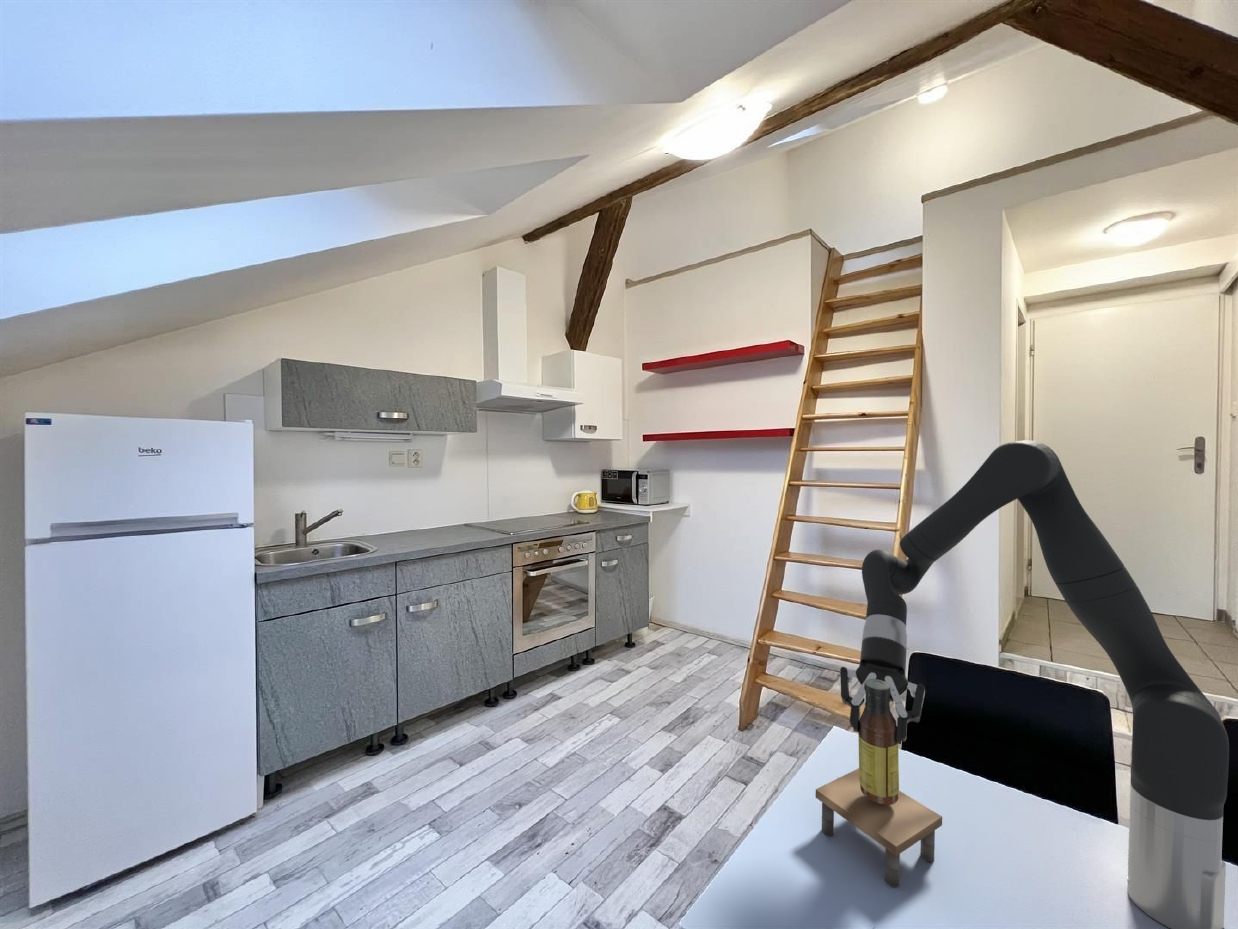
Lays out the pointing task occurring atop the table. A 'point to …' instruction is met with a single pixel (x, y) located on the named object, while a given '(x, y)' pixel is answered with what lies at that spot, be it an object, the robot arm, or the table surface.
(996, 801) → the table surface
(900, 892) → the table surface
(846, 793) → the peg shelf
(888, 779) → the sauce bottle
